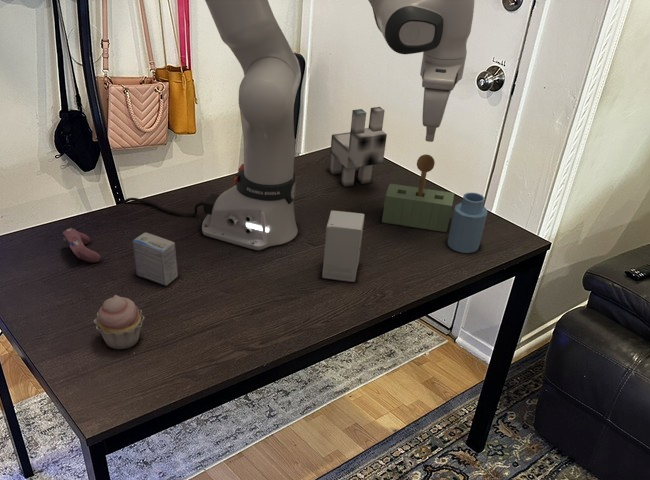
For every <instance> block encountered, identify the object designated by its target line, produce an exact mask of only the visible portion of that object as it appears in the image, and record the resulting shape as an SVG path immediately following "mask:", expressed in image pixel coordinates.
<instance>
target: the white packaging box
mask: <svg viewBox="0 0 650 480" xmlns="http://www.w3.org/2000/svg"><path fill="white" fill-rule="evenodd" d="M329 213H330V214H329V217H328V221H327V224H326V229H325V241H324V250H323V251H324V252H323V265H322V274H321V278H322V279H328V280H335V281H343V282H350V283H355V282H356V278H357V273H358V268H359V267H358V266H359V263H360V255H361V248H362V239H363V231H364V224H365V215H366V214H365V213H361V212H359V213H358V212H351V211H341V210H333V209H332V210H330V212H329Z"/></svg>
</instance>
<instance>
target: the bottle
mask: <svg viewBox="0 0 650 480" xmlns="http://www.w3.org/2000/svg"><path fill="white" fill-rule="evenodd" d="M485 199H486V197H484V195H483V194H480V193H477V192H466V193H464V194H463V196H462V200H461V202H458V203H457V204H456V205H454V209H453V214H452V219H451V224H450V227H449V233H448V237H447V246H448V247H449V248H450V249H451V250H453V251H455V252H458V253H463V254H470V253H475V252H477V251H478V250H479V248H480V245H481V241H482V237H483V232H484V229H485V225H486V221H487V217H488V211H489V210H488V209H487V208H486V207H485V206H484V204H485Z"/></svg>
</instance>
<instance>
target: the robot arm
mask: <svg viewBox="0 0 650 480" xmlns="http://www.w3.org/2000/svg"><path fill="white" fill-rule="evenodd" d="M367 1H368V2H369V4H370V6H371V8H372V14H373V17H374V21H375V24H376V27H377V29H378V31H379V32H380V33H381V34H382V36H383V39H384V40H385V42H386V44H387V46H388V47H389V48H390V49H391V50H392V51H393V52H395V53H396V54H400V55H412V54H419V53H422V59H421V67H420V73H419V74H420V77H421V80H422V81H421V88H424V89H423V102H422V126H423V127H425V130H426V131H425V133H426V134H425V141H426V142H429V143H433V142H434V140H435V136H436V131H437V129H438V128H440V127H441V124H442V121H443V119H444V116H445V115H444V114H445V111H446V108H447V105H448V101H449V98H450V95H451V92H452V91H453V90H454V88H455V87H456V85H457V84H458V83H459V81H461V80H462V79H463V75H464V70H465V65H466V59H467V53H468V50H467V43H468V40H469V37H470V35H471V32H472V28H473V27H472V26H473V20H474V13H475V0H367ZM204 2H205V4H206V6H207V8H208V11H209V13H210V16H211V17H212V21H213V22H214V25H215V27H216V30H217V32H218V34H219V36H220V38H221V41H222V42H223V43H224V44H225V45H226V46H227V47H228V48H229V49H230V51H231V52H232V54H233V55H234V57H235V58H236V60H237V62H238V63H239V65H240V67H241V70H242V71H243V78H242V79H241V81H240V84H239V88H238V108H239V114H240V115H239V116H240V123H241V129H242V135H243V163H242V164H241V165H240V166H239V167H238V169H237V170H238V172H236V174H235V178H234V180H233V185H234V186H232V187H230V188H228V189H227V190H225V191H223V192H222V193H221V194H218V193H217V194H216V193H211V194H210V195H209V196H208V197H207V198H206V199H205V200H204V201H199V202H197V203H196V204H195V205H194V206H193V207H194V208H193V210H194V212H193V213H189V214H186V213H180V212H178V211H175V210H172V209H168V208H165V207H163V206H161V205H159V204H157V203H155V202H153V201H150V200H145V199H142V198H138V197H128V198H125V200H123V201H122V204H127V203H128V202H129V203H130V202H133V201H135V202H139V203H142V204H146V205H150V206H152V207H154V208H156V209H158V210H161V211H162V212H165V213H169V214H171V215H175V216H178V217H188V218H194V217H196V216H197V215H198V213H199V211H198V208H200V206H203V214H205V215H206V216H205V217H204V218H203V221H202V224H201V232H202V234H203V236H206V237H209V238H212V239H215V240H219V241H222V242H226V243H230V244H233V245H237V246H240V247H244V248H248V249H251V250H254V251H261V250H264V249H267V248H269V247H274V246H279V245H284V244H286V243H289V242H291V241H293V239H295V238H296V236H297V235H298V233H299V229H298V226H297V221H296V215H295V207H294V200H295V196H296V186H297V185H296V174H295V171H294V170H295V150H296V138H295V124H294V123H295V122H294V120H295V119H294V116H295V115H294V111H295V110H294V109H295V101H296V96H297V93H298V91H299V87H300V84H301V79H302V73H301V65H300V62H299V59H298V57H297V55H296V54H295V53H294V52H293V50H292V48H291V45H290V44H289V41H288V40H287V38H286V35H285V34H284V32H283V30H282V29H281V27H280V25H279V23H278V21H277V19H276V18H275V15H274V13H273V10H272V7H271V4H270V2H269V0H204ZM137 200H140V201H137Z"/></svg>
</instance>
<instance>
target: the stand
mask: <svg viewBox="0 0 650 480" xmlns="http://www.w3.org/2000/svg"><path fill="white" fill-rule="evenodd" d="M418 189H419V187H416V186H409V185H403V184H396V183H389V184H388V187H387V190H386V193H385V195H384V203H383V210H382V211H383V212H382V217H381V223H384V224H390V225H391V224H392V225H396V226H397V225H398V226H404V227H409V228H416V229H423V230H429V231H436V232H441V233H447V232H448V227H449V223H450V219H451V213H452V209H453V203H454V198H455V192H451V191H445V190H444V191H443V190H437V189H431V188H430V189H429V188H424V191H423V196H422V197H421V196H417V195H418Z"/></svg>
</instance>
